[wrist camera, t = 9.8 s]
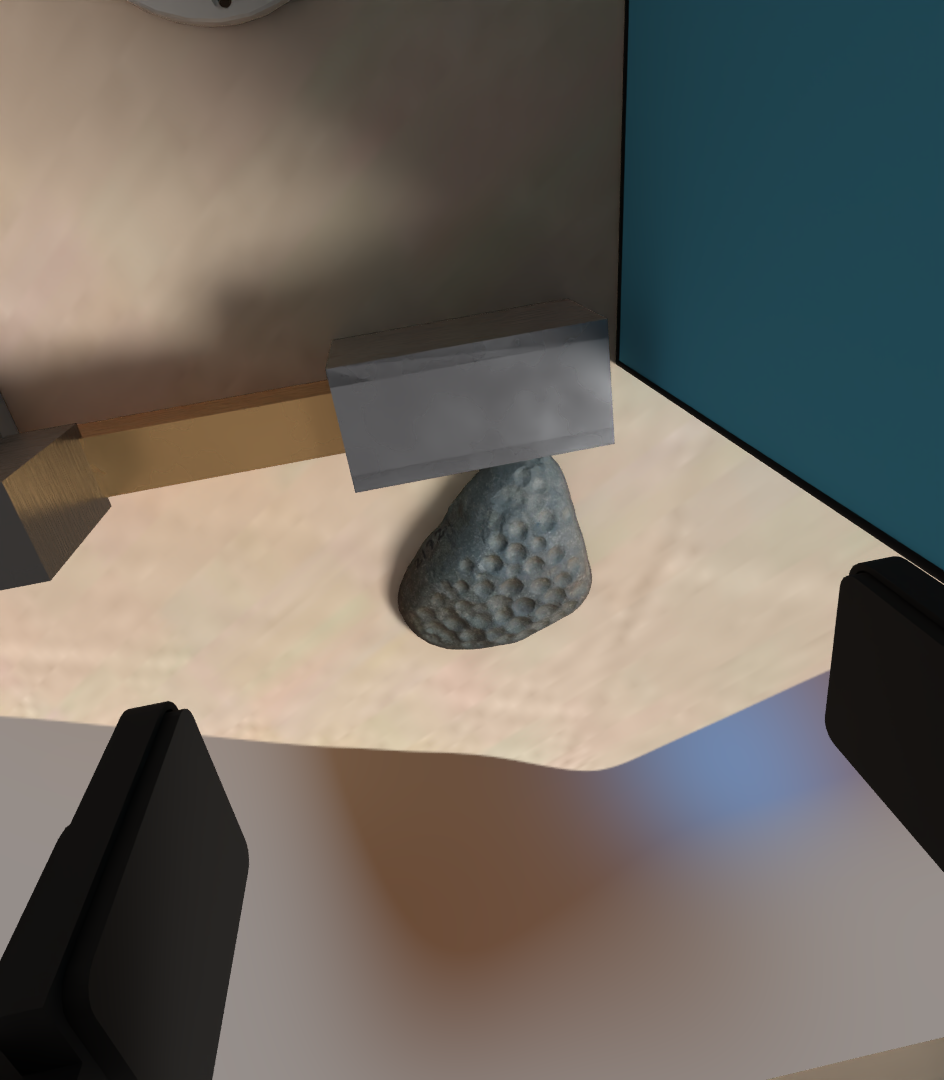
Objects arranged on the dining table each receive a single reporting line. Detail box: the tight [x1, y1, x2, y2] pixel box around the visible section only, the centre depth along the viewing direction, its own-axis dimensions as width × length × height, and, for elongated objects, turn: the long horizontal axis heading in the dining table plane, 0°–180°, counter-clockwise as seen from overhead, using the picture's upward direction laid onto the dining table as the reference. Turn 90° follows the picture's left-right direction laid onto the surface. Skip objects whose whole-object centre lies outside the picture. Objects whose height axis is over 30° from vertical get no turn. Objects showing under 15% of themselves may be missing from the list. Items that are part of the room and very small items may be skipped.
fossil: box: [398, 456, 592, 649], centre depth 40 cm, size 10×13×4 cm
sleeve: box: [325, 299, 615, 493], centre depth 33 cm, size 6×12×6 cm, turn 98°
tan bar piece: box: [0, 380, 346, 590], centre depth 29 cm, size 4×22×9 cm, turn 98°
